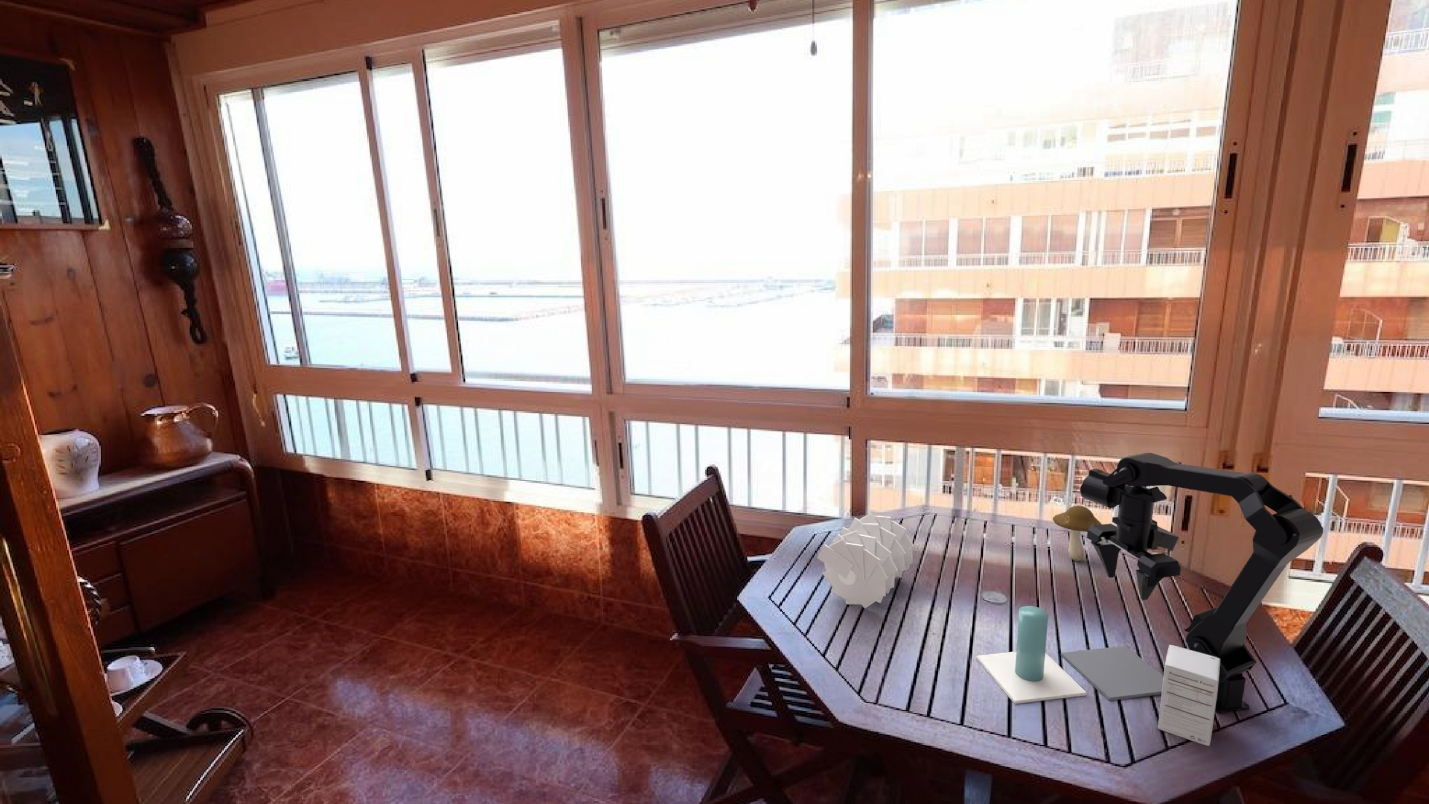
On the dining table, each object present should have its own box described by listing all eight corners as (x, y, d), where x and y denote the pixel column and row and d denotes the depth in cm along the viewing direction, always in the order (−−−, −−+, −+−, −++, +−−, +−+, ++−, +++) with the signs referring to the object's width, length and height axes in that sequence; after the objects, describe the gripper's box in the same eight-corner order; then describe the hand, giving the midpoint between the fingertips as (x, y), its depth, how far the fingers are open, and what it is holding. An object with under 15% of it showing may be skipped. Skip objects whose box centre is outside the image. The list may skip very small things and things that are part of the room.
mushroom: (1053, 548, 180) (1057, 496, 177) (1101, 558, 174) (1106, 504, 170) (1046, 561, 173) (1050, 507, 170) (1096, 571, 166) (1101, 516, 163)
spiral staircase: (899, 587, 171) (863, 630, 150) (842, 547, 178) (801, 582, 158) (932, 533, 163) (900, 570, 143) (872, 493, 171) (833, 523, 150)
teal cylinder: (1049, 677, 126) (1054, 616, 123) (1029, 684, 124) (1034, 622, 121) (1028, 663, 131) (1032, 603, 128) (1009, 669, 129) (1013, 609, 126)
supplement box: (1161, 705, 118) (1169, 642, 115) (1212, 722, 113) (1222, 657, 111) (1155, 729, 113) (1163, 663, 110) (1209, 748, 108) (1219, 680, 105)
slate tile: (1179, 692, 121) (1179, 689, 121) (1108, 700, 120) (1109, 697, 120) (1124, 648, 135) (1125, 645, 135) (1060, 655, 134) (1061, 652, 133)
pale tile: (1086, 695, 122) (1086, 692, 121) (1014, 703, 120) (1014, 700, 120) (1041, 651, 135) (1041, 648, 135) (976, 658, 134) (976, 655, 134)
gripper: (1212, 531, 121) (1202, 608, 125) (1137, 495, 140) (1129, 563, 143) (1157, 537, 120) (1148, 614, 124) (1088, 500, 138) (1082, 568, 142)
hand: (1127, 588), depth 133 cm, fingers open, 9 cm apart
